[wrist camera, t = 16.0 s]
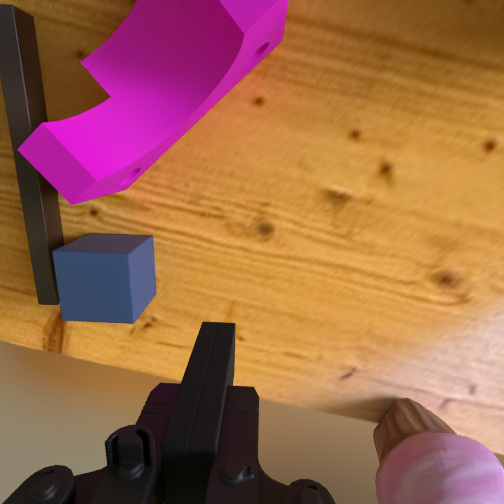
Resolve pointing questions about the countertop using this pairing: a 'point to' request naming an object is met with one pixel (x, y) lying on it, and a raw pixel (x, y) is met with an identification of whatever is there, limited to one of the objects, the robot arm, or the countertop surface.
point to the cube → (105, 277)
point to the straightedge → (21, 127)
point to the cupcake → (432, 461)
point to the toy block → (153, 89)
